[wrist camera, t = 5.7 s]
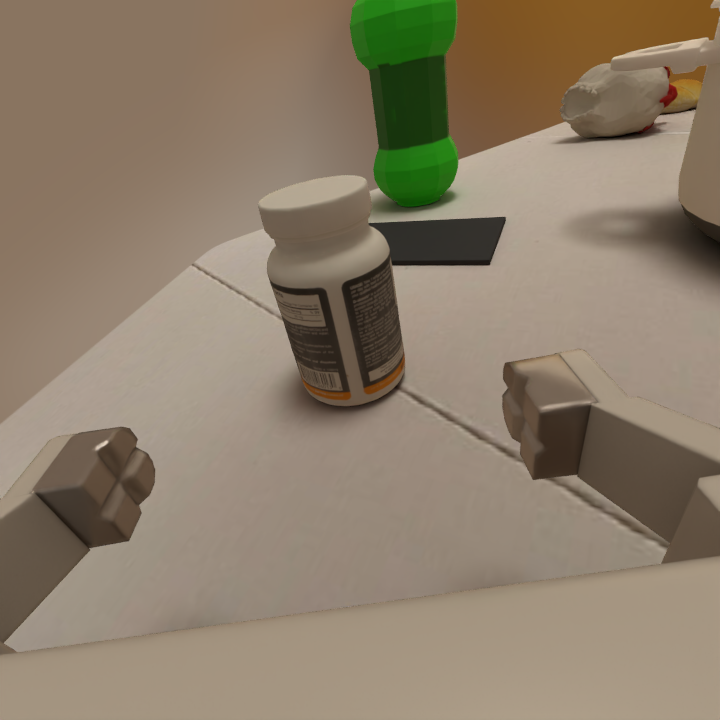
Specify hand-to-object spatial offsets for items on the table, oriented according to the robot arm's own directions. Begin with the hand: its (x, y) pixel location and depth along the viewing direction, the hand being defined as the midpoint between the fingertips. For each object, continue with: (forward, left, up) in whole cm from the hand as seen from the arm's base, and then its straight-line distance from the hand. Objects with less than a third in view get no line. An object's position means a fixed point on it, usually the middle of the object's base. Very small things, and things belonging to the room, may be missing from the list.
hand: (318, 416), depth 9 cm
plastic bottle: (-11, +44, -8) cm, 46 cm away
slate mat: (-10, +30, -8) cm, 33 cm away
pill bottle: (-5, +10, -8) cm, 14 cm away
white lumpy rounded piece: (+12, +72, -8) cm, 74 cm away
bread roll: (+20, +88, -8) cm, 91 cm away
